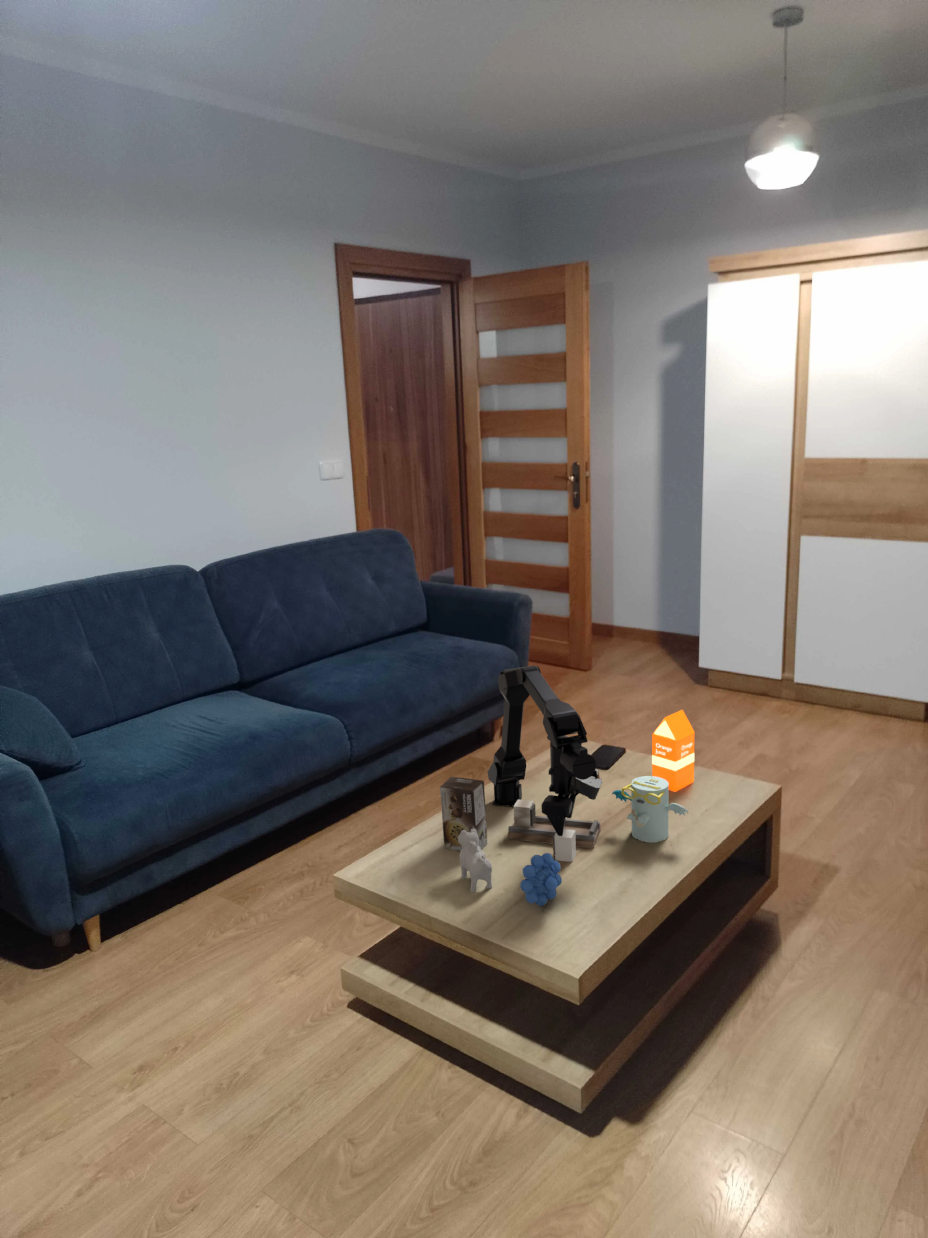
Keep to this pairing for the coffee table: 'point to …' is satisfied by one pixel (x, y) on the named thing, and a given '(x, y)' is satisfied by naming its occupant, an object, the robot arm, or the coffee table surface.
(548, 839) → the rail
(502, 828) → the coffee table surface
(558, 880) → the grapes
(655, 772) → the orange juice
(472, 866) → the dog figurine
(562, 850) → the off-white square prism
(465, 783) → the coffee box
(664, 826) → the character sculpture
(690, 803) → the coffee table surface
